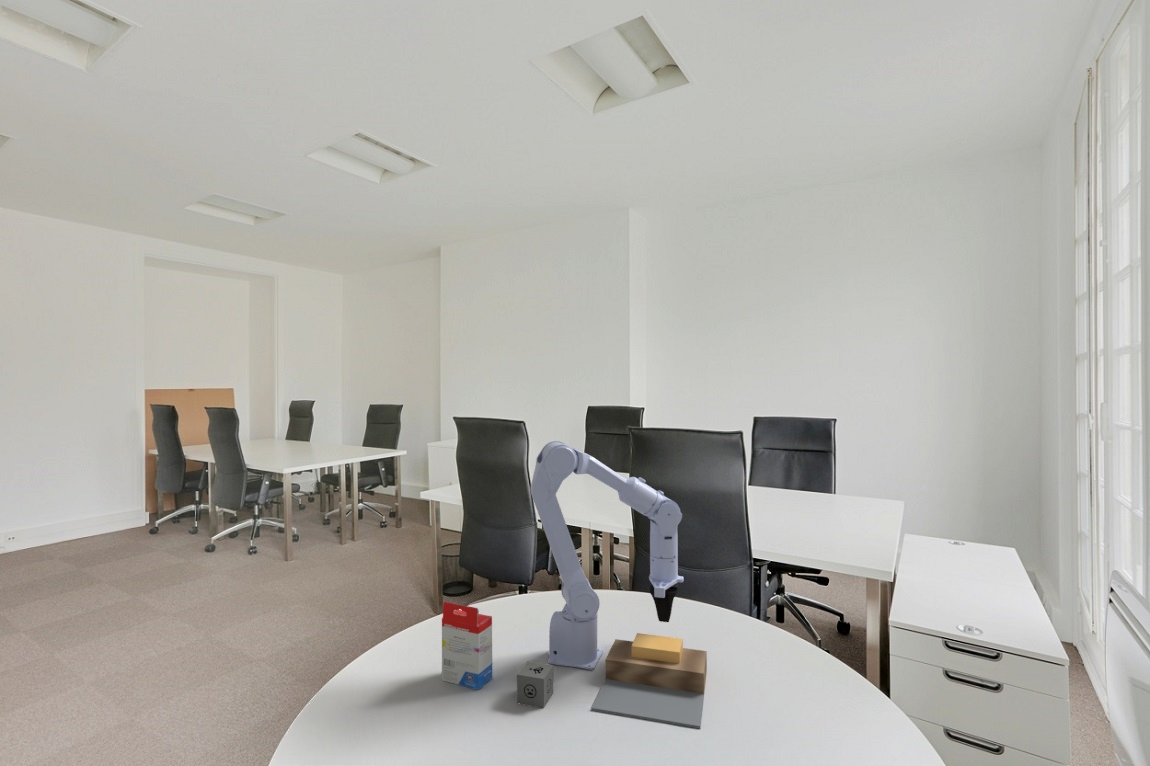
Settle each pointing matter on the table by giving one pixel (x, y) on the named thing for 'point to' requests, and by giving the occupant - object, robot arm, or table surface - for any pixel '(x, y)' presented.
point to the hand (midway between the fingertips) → (664, 620)
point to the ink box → (466, 646)
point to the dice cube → (535, 684)
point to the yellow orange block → (657, 648)
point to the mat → (650, 703)
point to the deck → (657, 669)
